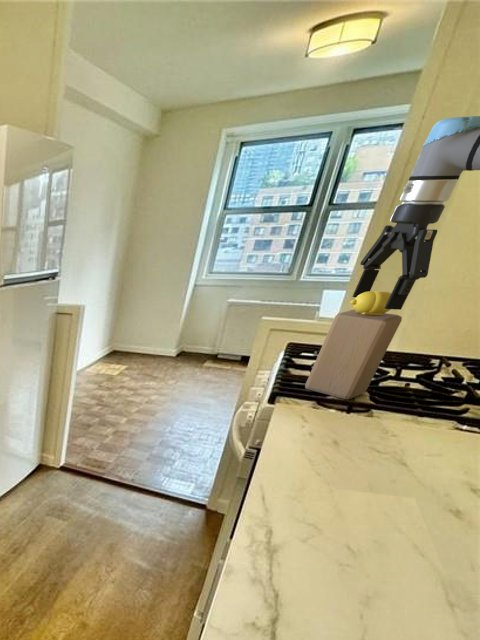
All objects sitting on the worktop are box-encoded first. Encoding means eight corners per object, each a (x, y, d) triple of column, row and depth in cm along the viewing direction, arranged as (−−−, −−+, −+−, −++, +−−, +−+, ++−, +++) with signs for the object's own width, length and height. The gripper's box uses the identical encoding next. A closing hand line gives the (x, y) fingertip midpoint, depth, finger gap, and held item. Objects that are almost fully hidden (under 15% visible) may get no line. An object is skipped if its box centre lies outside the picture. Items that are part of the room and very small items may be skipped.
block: (365, 393, 124) (405, 315, 115) (348, 401, 120) (388, 320, 110) (319, 382, 132) (353, 307, 122) (301, 389, 127) (335, 312, 118)
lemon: (381, 312, 118) (391, 290, 115) (395, 316, 113) (405, 293, 111) (340, 310, 120) (349, 289, 117) (351, 314, 115) (361, 292, 113)
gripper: (368, 201, 116) (330, 292, 126) (439, 205, 95) (387, 313, 105) (406, 201, 114) (365, 293, 124) (488, 204, 93) (430, 315, 104)
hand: (375, 303), depth 115 cm, fingers open, 13 cm apart
